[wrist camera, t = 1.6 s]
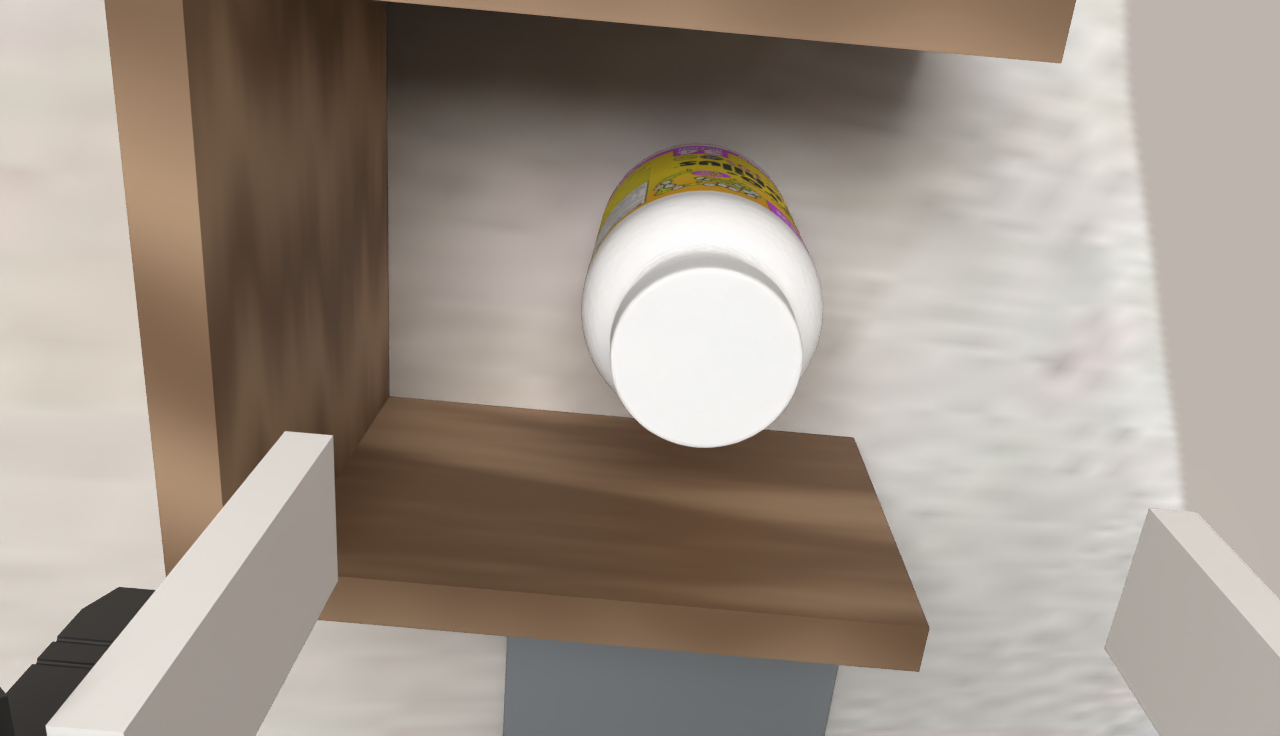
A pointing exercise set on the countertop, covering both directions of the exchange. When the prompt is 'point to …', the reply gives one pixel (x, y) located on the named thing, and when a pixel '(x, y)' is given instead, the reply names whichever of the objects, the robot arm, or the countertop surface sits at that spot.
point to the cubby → (459, 432)
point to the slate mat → (659, 692)
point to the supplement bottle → (701, 297)
